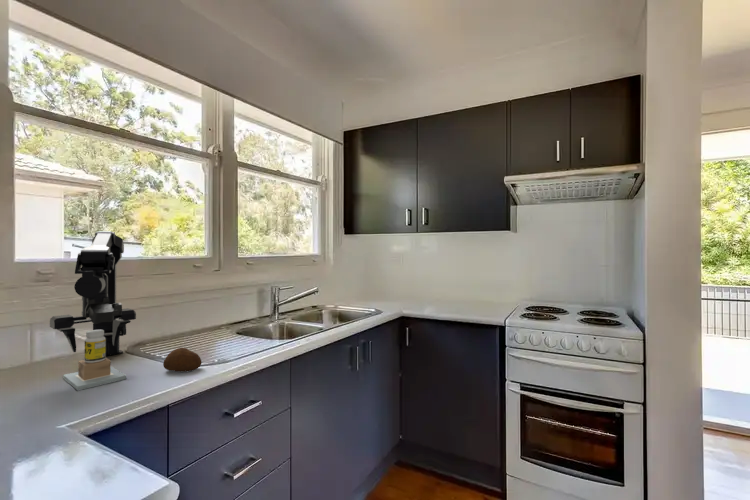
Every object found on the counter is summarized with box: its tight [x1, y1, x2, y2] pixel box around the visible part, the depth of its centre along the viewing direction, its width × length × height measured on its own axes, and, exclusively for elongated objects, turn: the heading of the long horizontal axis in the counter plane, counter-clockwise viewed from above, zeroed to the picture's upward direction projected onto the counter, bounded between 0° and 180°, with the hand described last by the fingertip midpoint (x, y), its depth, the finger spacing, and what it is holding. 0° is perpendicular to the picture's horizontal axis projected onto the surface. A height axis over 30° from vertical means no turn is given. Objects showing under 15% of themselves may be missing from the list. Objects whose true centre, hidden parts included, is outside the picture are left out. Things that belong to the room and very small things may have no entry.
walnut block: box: [77, 356, 112, 380], centre depth 104 cm, size 6×6×4 cm
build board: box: [62, 365, 127, 391], centre depth 104 cm, size 14×11×1 cm
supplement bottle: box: [83, 329, 106, 363], centre depth 104 cm, size 5×5×8 cm
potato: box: [162, 347, 202, 373], centre depth 111 cm, size 7×10×7 cm
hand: (95, 348), depth 104 cm, fingers open, 9 cm apart
